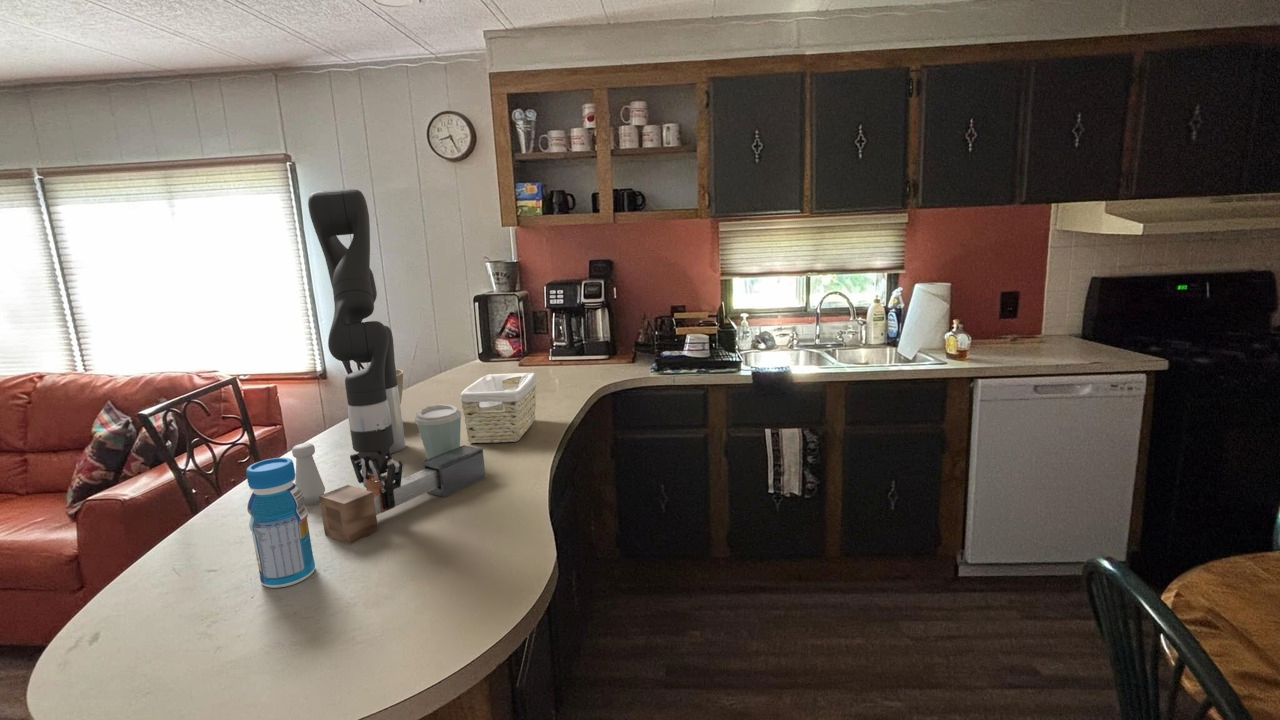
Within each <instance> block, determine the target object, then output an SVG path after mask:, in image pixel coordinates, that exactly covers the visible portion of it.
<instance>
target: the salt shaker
mask: <svg viewBox="0 0 1280 720" xmlns="http://www.w3.org/2000/svg"><path fill="white" fill-rule="evenodd" d="M291 453H292V456H293V457H294V458H296V459H295V480H294V481H295V483H294V484H295V485H296V486H297V487H298V488H299V489H300V490H301V492H302V493H303V495H304V501H303V505H304V506H305V507H306V506H314V505H316V504H319V503H320V500H319V496H320V495H323V494H325V492H326V487H325V484H324V482H323V479H322V477H321V475H320V471H319V470H318V467H317V465H316V462H315V459H314V456H313V455H314V454H315V453H316V447H315V445H314V444H312V443H309V442H305V443H299V444H297V445H294V446H293V448H292V449H291Z"/></svg>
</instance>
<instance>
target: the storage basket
mask: <svg viewBox="0 0 1280 720" xmlns="http://www.w3.org/2000/svg"><path fill="white" fill-rule="evenodd" d="M504 384H512V385H513V384H514V385H515V384H517V385H516V386H513V387H510V388H507V389H505V388H504ZM536 388H537V377H536V373H535V372H520V373H519V372H518V373H517V372H516V373H493V374H491V373H489V374H487V375H484V376H482V377H480V378H478V379H477V380H475V382H473V383H472V384H469V386H467V387H465V388H464V390H463V391H461V393H460V403H461V408H462V412H463V417H464V424H465V425H466V426H465V429H466V434H467V435H466V436H467V441H468V443H471V444H476V443H478V444H483V443H484V444H491V443H494V444H497V443H517V442H518V441H519V440H520V439H521V438H522V437H523V436H524V434H525V433H526V432H527V431H528V429H530V428H531V426H532V425H533V423H534V422H535V420H536V409H537V406H536V405H537V404H536V403H537V402H536V397H537V396H536V393H537V392H536V391H537V389H536Z"/></svg>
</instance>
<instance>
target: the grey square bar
mask: <svg viewBox="0 0 1280 720" xmlns="http://www.w3.org/2000/svg"><path fill="white" fill-rule="evenodd" d="M380 476H384V475H383V474H381V475H380ZM365 480H366V487H367V489H366V490H368V491H371V492H373V496H374V503H375V510H376V516H377V515H380V514H383V513H385V512H388V511H390V510H392V509H394V508H396V507H397V506H400V505H402V504H405V503H406V502H409V501H411V500H413V499H416V498H417V497H419V496H422V495H424V494H428V493H427V492H429V491H431V490H433V489H436V488H438V487H440V486H441V482H440V473H439V469H436V468H432V467H429V468H426V469H424V470H423V469H422V470H421V469H420V470H419V471H417V472H415V473H412V474H409V475H407V476H405V477H401V486H400V487H399V488H396V489H394V499H395V506H394V507H393V508H391V509H388V510H385V509H384V508H383V502H382V495H381V492H382V491H381V488H380V484H379V482H376V480H375V477H374V476H373V477H371V478H369V479H365ZM384 482H385V485H386V484H387V479H386V480H384Z"/></svg>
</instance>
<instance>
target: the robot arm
mask: <svg viewBox="0 0 1280 720" xmlns="http://www.w3.org/2000/svg"><path fill="white" fill-rule="evenodd" d="M307 205H308V212H309V216H310V220H311V222H312V226H313V228H314V232H315V234H316V236H317V240H318V242H319V245H320V247H321V250H322V253H323V256H324V259H325V263H326V266H327V270H328V271H327V272H328V276H329V279H330V284H331V288H332V295H333V301H334V302H333V303H334V314H333V319H332V323H331V326H330V329H329V335H328V340H327V341H328V342H327V346H328V351H329V353H330V354H331V356H332V357H333V358H335V360H337V361H339V362H351V361H353V362H354V363H357V364H358V363H359V364H365V363H366V364H367V363H369V365H368V366H367V367H365V368H362V369H359V370H356V371H353V372H350V373H349V374H347V375H346V376H345V378H344V385H345V392H346V393H345V394H346V400H347V406H348V407H347V408H348V409H347V411H348V412H347V416H348V422H349V423H348V424H349V430H350V439H351V443H352V444H351V445H352V450H353V451H354V452H357V453H353V454H351V455H350V456H349V458H350V462H351V465H352V467H353V471H354V474H355V476H356V479H357V482H358V483H359V484H363V487H364V488H365V490H367V487H366V480H365V479H369V478H371V477H373V476H374V477H375V480H376V482H379V484H380V488H381V491H382V492H381V495H382V502H383V508H384V509H385V510H388V509H390V510H392V509H394V508H395V507H394V506H395V499H394V489H396V488H399V487H400V486H401V479H402V478H403V477H402V476H403V469H404V468H403V467H404V465H403V464H404V463H403V462H402V461H401V460H399V461H396V460H394V459H393V456H392V454H394V453H397V452H400V451H402V450H403V449H405V448H406V440H405V431H404V423H403V422H404V421H403V416H402V415H403V414H402V409H401V406H400V399H399V391H398V385H397V384H398V383H397V377H396V369H397V368H396V363H395V361H396V360H395V349H394V348H395V346H394V345H395V344H394V337H393V332H392V330H391V328H390V327H389V326H387V325H384V324H383V323H382V322H381V321H376V320H371V321H363V320H364V319H367V318H368V317H370V316H371V315H372V314H373V313H374V310H375V303H376V300H377V297H378V292H377V291H378V290H377V286H376V281H375V277H374V273H373V271H372V269H371V267H370V264H371V262H370V260H371V229H370V214H369V208H368V204H367V201H366V198H365V195H364V194H363V193H362V191H361V190H359V189H354V188H348V189H347V188H346V189H333V190H319V191H314V192H312V193H310V195H309V196H308V203H307ZM348 235H352V240H351V242H350V244H349V246H348V247H346V245H344V244H343V243H342V242H341V241H340V239H339V237H338V236H348ZM383 474H384V475H383ZM380 475H383V476H380ZM386 479H387V484H386V485H385V482H384V480H386ZM393 507H394V508H393ZM391 508H392V509H391ZM388 511H389V510H388Z"/></svg>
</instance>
